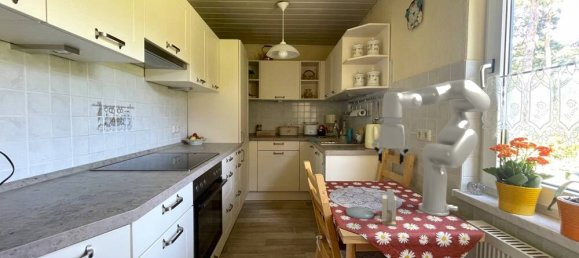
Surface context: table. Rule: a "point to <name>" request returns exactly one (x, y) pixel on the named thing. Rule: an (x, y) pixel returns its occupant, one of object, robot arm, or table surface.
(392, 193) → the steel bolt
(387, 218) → the clamp frame
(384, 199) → the cream block
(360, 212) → the ceramic plate
